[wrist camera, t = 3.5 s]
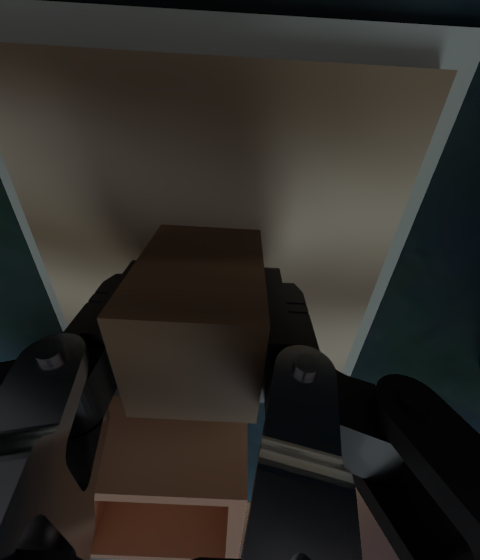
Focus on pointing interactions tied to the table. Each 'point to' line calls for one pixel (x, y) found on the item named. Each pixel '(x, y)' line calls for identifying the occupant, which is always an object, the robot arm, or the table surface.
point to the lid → (210, 202)
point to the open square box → (170, 488)
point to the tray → (257, 44)
